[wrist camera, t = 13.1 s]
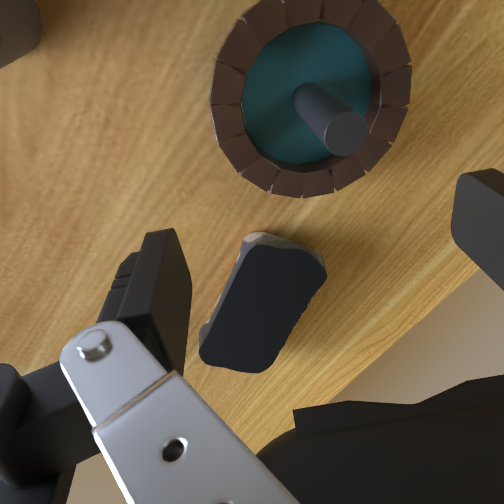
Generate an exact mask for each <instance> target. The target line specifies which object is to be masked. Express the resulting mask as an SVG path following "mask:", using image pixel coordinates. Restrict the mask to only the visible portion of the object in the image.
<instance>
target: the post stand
mask: <svg viewBox="0 0 504 504" xmlns="http://www.w3.org/2000/svg"><path fill="white" fill-rule="evenodd" d="M241 101H242V107H243V112H244V118H245V124H246V129H247V131H248V132H249V134H250V136H251V137H252V139H253V140H254V142H255V144H256V145H257V147H259V148H260V149H262V150H263V151H265V152H266V153H268V154H269V155H271V156H272V157H273V158H275V159H276V160H281V161H286V162H291V163H296V164H301V163H306V162H312V161H317V160H322V159H324V158H326V157H328V156H329V155H331V154H332V153H333V154H335V155H337V156H348V155H351V154H353V153H355V152H357V151H358V150H359V149H360V148H361V147H362V146H363V145H364V143H365V141H366V139H367V135H368V125H367V122H366V120H365V119H364V116H365V113H366V110H367V107H368V105H369V102H370V70H369V68H368V65H367V63H366V60H365V58H364V55H363V53H362V50H361V48H360V46H359V45H358V44H356V43H355V42H354V41H353V40H352V39H351V38H350V37H349V36H348V35H347V34H346V33H345V32H344V31H342V30H341V29H340V28H338V27H334V26H330V25H327V24H323V23H320V22H314V23H309V24H304V25H299V26H294V27H290V28H288V29H287V30H286V31H284V32H283V33H282V34H280V35H279V36H277V37H276V38H275V39H273V40H272V41H271V42H269V43H268V44H266V45H265V46H264V47H263V49H262V50H261V52H260V53H259V55H258V57H257V58H256V60H255V61H254V63H253V65H252V66H251V68H250V69H249V71H248V73H247V75H246V80H245V85H244V90H243V95H242V100H241Z"/></svg>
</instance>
